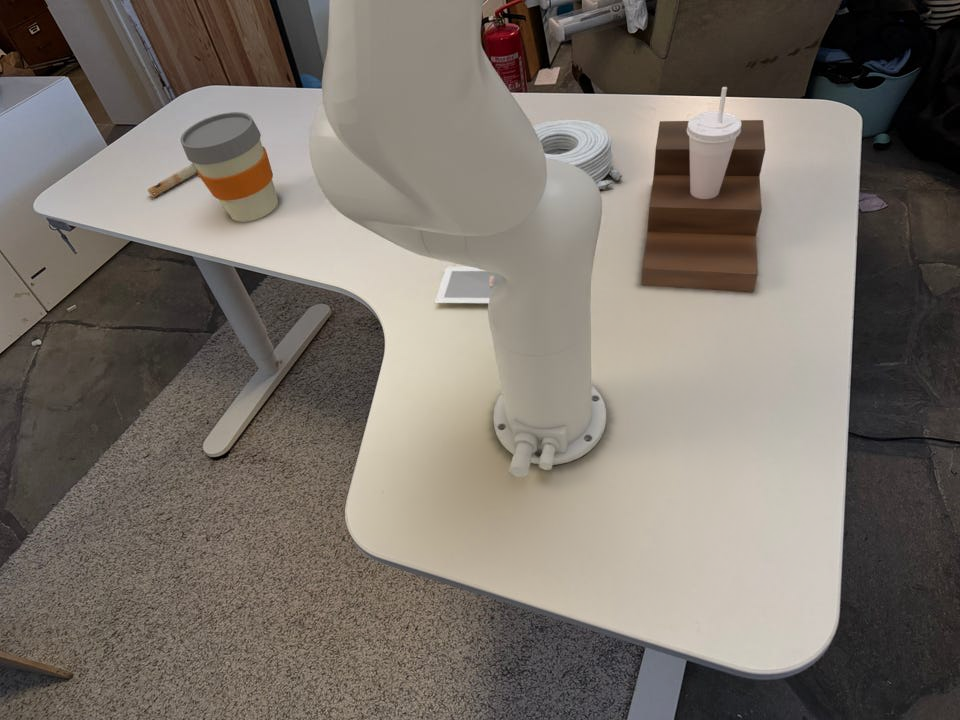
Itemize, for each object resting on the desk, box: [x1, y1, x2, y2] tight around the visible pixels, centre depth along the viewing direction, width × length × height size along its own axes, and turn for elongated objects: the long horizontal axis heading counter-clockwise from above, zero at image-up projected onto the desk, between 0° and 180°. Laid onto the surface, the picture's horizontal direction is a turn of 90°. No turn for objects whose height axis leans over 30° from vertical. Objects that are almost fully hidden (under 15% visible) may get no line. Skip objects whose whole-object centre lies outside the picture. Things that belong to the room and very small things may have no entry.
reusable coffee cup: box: [180, 111, 279, 223], centre depth 105 cm, size 13×13×15 cm
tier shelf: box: [640, 119, 766, 293], centre depth 83 cm, size 24×14×11 cm, turn 165°
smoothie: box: [687, 86, 742, 199], centre depth 77 cm, size 6×6×14 cm
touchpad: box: [434, 265, 503, 304], centre depth 84 cm, size 8×15×2 cm, turn 80°
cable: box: [532, 119, 623, 190], centre depth 101 cm, size 18×18×6 cm
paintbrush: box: [147, 162, 197, 198], centre depth 122 cm, size 4×3×20 cm
